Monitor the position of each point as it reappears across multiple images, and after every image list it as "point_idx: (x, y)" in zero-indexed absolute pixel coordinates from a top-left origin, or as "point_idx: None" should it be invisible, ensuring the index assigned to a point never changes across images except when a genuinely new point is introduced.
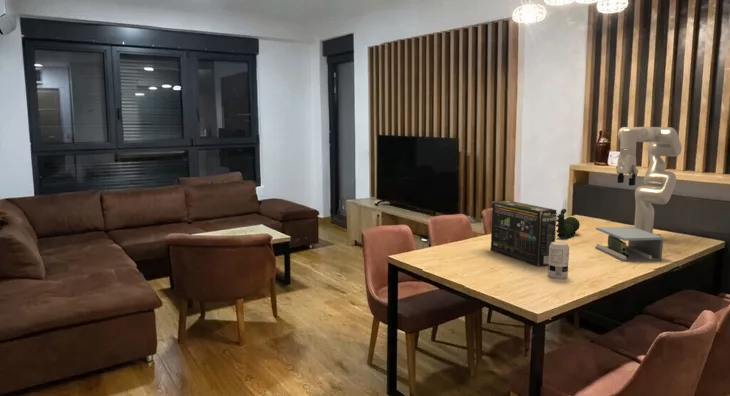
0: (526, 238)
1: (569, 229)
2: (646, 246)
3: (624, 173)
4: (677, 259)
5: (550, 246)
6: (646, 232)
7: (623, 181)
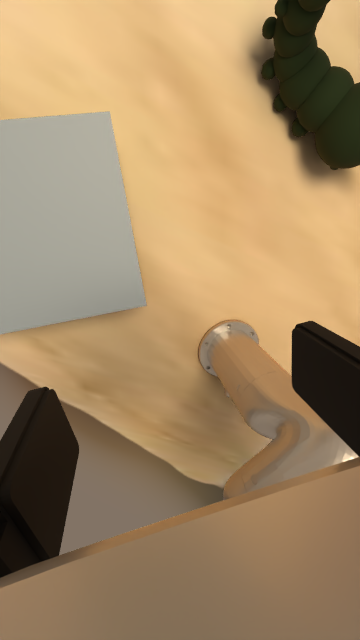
0: None
1: (299, 90)
2: None
3: (97, 546)
4: (3, 361)
5: None
6: (17, 319)
7: (299, 395)
